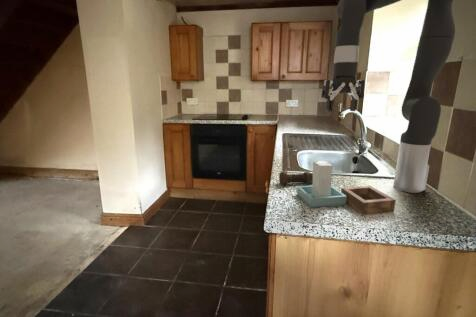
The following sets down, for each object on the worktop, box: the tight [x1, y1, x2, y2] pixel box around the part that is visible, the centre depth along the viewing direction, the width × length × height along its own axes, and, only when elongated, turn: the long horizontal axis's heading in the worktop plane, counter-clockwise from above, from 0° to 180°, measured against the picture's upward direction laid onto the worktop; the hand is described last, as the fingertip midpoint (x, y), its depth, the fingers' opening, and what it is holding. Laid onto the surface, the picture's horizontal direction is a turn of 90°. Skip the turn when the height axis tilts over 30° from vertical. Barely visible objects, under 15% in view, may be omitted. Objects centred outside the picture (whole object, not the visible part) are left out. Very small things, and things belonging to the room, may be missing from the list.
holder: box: [340, 185, 397, 216], centre depth 88 cm, size 10×12×4 cm
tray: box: [296, 184, 347, 209], centre depth 93 cm, size 12×11×3 cm
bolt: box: [278, 170, 313, 187], centre depth 107 cm, size 6×5×15 cm
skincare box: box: [311, 160, 333, 198], centre depth 91 cm, size 6×4×12 cm
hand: (341, 111), depth 96 cm, fingers open, 8 cm apart
